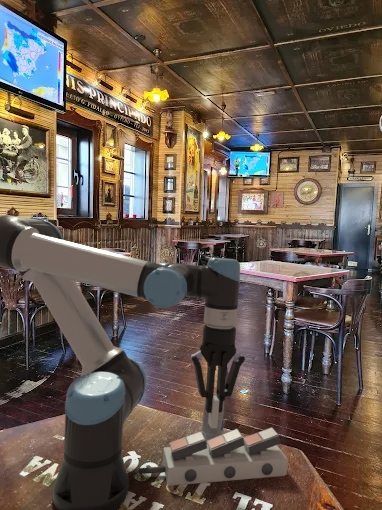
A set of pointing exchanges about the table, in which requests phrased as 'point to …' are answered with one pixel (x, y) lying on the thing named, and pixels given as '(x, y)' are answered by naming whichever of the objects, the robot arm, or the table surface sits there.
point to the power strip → (220, 466)
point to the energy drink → (207, 430)
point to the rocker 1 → (188, 445)
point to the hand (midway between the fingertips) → (212, 425)
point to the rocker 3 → (261, 440)
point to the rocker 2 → (225, 443)
